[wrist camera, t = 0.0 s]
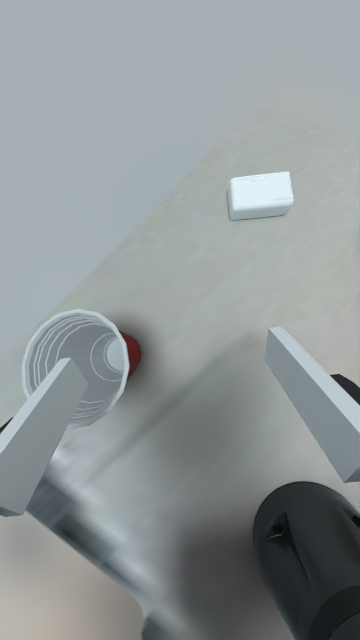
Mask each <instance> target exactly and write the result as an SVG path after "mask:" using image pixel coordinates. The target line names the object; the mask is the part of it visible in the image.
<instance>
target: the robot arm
mask: <svg viewBox="0 0 360 640" xmlns="http://www.w3.org/2000/svg"><path fill="white" fill-rule="evenodd" d="M265 361H266V363H267V364H268V366H269V367H270V369H271V371H272V372H273V374H274V375H275V377H276V378H277V380H278V381H279V383H280V385H281V386H282V388H283V389H284V391H285V392H286V394H287V395H288V397H289V398H290V400H291V402H292V403H293V405H294V406H295V408H296V409H297V411H298V412H299V414H300V416H301V417H302V419H303V420H304V422H305V423H306V425H307V426H308V428H309V430H310V431H311V433H312V434H313V436H314V437H315V439H316V440H317V442H318V443H319V445H320V447H321V448H322V450H323V451H324V453H325V454H326V456H327V457H328V459H329V461H330V462H331V464H332V465H333V467H334V468H335V470H336V471H337V473H338V475H339V476H340V478H341V479H342V481H343V482H344V483H347V482H357V481H360V388H359V387H358V386H357V385H356V384H355V383H354V382H352V381H350V380H349V379H347V378H345V377H344V376H342V375H340V374H335V375H329V374H328V373H327V372H326V371H325V370H324V369H323V368H322V367H321V366H320V365H319V364H318V363H317V362H316V361H315V360H314V359H313V358H312V357H311V356H310V355H309V354H308V353H307V352H306V351H305V350H304V349H303V348H302V347H301V346H300V345H299V344H298V343H297V342H296V341H295V340H294V339H293V338H292V337H291V336H290V335H289V334H288V333H287V332H286V331H285V330H284V329H283V328H282V327H274V328H269V330H268V338H267V345H266V353H265ZM88 385H89V384H88V382H87V381H86V379H85V378H84V376H83V375H82V373H81V372H80V370H79V369H78V367H77V366H76V364H75V362H74V361H73V359H72V358H71V357H70V358H63V359H60V360H59V361H58V363H57V364H56V365H55V366H54V368H53V369H52V370H51V371H50V373H49V374H48V375H47V376H46V378H45V379H44V380H43V381H42V383H41V384H40V385H39V386H38V388H37V389H36V390H35V391H34V393H33V394H32V395H31V396H30V398H29V399H28V400H27V401H26V403H25V404H24V405H23V406H22V408H21V409H20V410H19V411H18V413H17V414H16V415H15V416H14V417H12V418H11V419H10V420H9V421H8V422H7V423H5V424H4V425H3V426H2V427H1V428H0V515H2V516H5V517H8V516H17V515H23V513H24V511H25V509H26V507H27V505H28V503H29V501H30V499H31V497H32V495H33V493H34V491H35V489H36V487H37V485H38V483H39V481H40V479H41V477H42V475H43V473H44V471H45V469H46V467H47V465H48V463H49V462H50V460H51V458H52V456H53V454H54V452H55V450H56V448H57V446H58V444H59V442H60V440H61V438H62V436H63V434H64V432H65V430H66V428H67V426H68V424H69V422H70V420H71V418H72V416H73V414H74V412H75V410H76V408H77V406H78V404H79V402H80V400H81V398H82V396H83V394H84V392H85V390H86V389H87V387H88ZM253 538H254V547H255V552H256V556H257V559H258V562H259V566H260V569H261V573H262V576H263V578H264V581H265V583H266V586H267V588H268V590H269V592H270V594H271V596H272V598H273V599H274V601H275V603H276V605H277V607H278V609H279V610H280V612H281V614H282V616H283V618H284V620H285V622H286V623H287V625H288V627H289V629H290V631H291V633H292V634H293V636H294V638H295V640H360V514H359V513H358V512H357V510H356V509H355V508H354V507H353V506H352V505H351V504H350V503H349V502H348V501H347V500H346V499H345V498H344V497H342V496H341V495H340V494H338V493H337V492H335V491H333V490H332V489H330V488H327V487H325V486H322V485H319V484H315V483H306V482H302V483H294V484H289V485H286V486H284V487H282V488H280V489H278V490H276V491H275V492H274V493H272V494H271V495H270V496H269V497H268V498H267V499H266V500H265V502H264V503H263V504H262V506H261V508H260V510H259V512H258V514H257V517H256V520H255V524H254V533H253Z"/></svg>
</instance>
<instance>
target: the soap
mask: <svg viewBox="0 0 360 640" xmlns="http://www.w3.org/2000/svg"><path fill="white" fill-rule="evenodd" d="M227 195H228V205H229V216H230V219H231V220H241V219H251V218H261V217H270V216H280V215H284V214H285V213H286V212H287V211H288V209H289V208H290V207H291V206H292V204H293V201H294V199H293V193H292V188H291V181H290V173H289V172H278V173H270V174H261V175H253V176H245V177H236V178H233V179H231V181H230V184H229V188H228V192H227Z"/></svg>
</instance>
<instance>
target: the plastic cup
mask: <svg viewBox="0 0 360 640" xmlns="http://www.w3.org/2000/svg"><path fill="white" fill-rule="evenodd" d="M70 357H71V358H72V359H73V361H74V362H75V364H76V366H77V367H78V369H79V370H80V372H81V373H82V375H83V376H84V378H85V379H86V381H87V382H88V384H89V385H88V387H87V389H86V390H85V392H84V394H83V396H82V398H81V400H80V402H79V404H78V406H77V408H76V410H75V412H74V414H73V416H72V418H71V420H70V422H69V424H68V426H67V428H66V429H71V428H77V427H83V426H89V425H91V424H93V423H94V422H96V421H97V420H99V419H100V418H102V417H103V416H105V415H106V414H108V413H109V412H110V411H111V409H112V408H113V406H114V405H115V403H116V402H117V400H118V399H119V397H120V396H121V394H122V393H123V391H124V390H125V386H126V382H127V380H128V379H129V377H130V376H131V375H132V373H133V372H134V370H135V369H136V367H137V365H138V363H139V361H140V357H141V351H140V346H139V345H138V343H137V342H136V340H134V339H133V338H132V337H130V336H128V335H126V334H125V333H123V332H121V331H119V330H118V328H117V327H116V325H115V324H113V323H112V322H110V321H109V320H108V319H106V318H105V317H104V316H102V315H101V314H99V313H98V312H93V311H88V310H83V309H75V310H70V311H66V312H62V313H58V314H57V315H55V316H54V317H52V318H51V319H49V320H48V321H46V322H45V323H44V324H42V325H41V326H40V327H39V329H38V330H37V332H36V333H35V334H34V336H33V337H32V339H31V340H30V341H29V343H28V346H27V349H26V352H25V356H24V359H23V362H22V384H23V389H24V392H25V394H26V396H27V399H29V398H30V396H31V395H32V394H33V393H34V391H35V390H36V389H37V388H38V386H39V385H40V384H41V383H42V381H43V380H44V379H45V378H46V376H47V375H48V374H49V373H50V371H51V370H52V369H53V368H54V366H55V365H56V364H57V363H58V361H59V360H60V359H63V358H70Z"/></svg>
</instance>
